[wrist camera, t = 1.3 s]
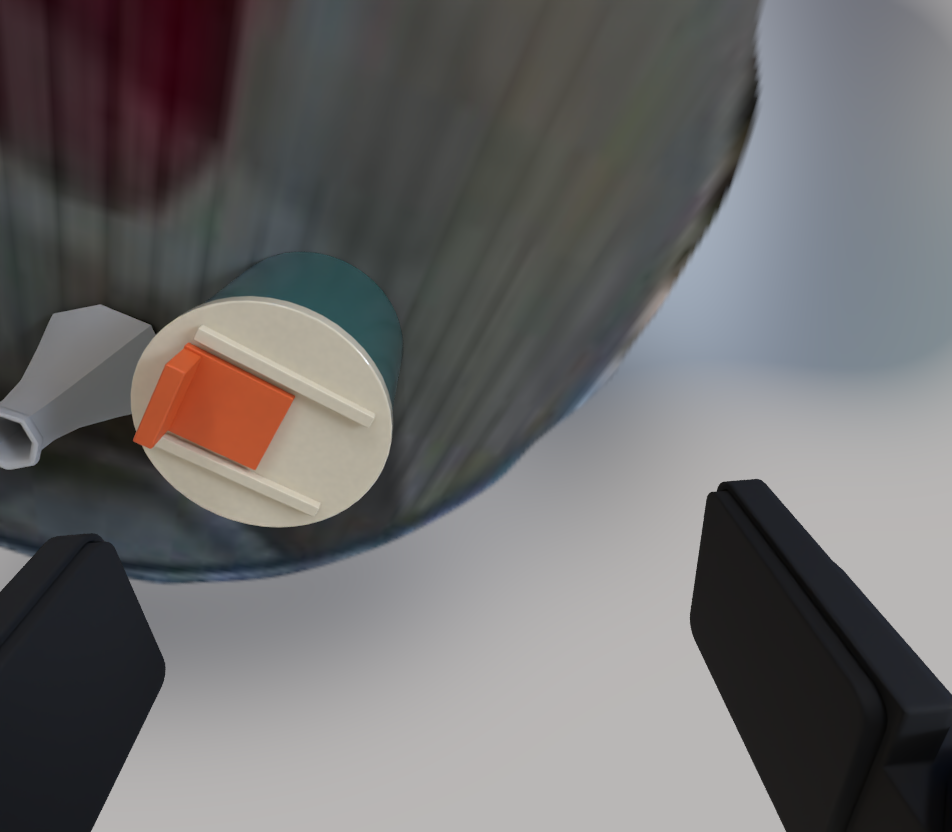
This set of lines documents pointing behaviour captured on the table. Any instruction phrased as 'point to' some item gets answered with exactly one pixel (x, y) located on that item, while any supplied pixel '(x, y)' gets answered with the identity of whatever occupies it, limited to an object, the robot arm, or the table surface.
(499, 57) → the table surface
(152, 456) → the sliding lid canister
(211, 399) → the slider
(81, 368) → the flask
